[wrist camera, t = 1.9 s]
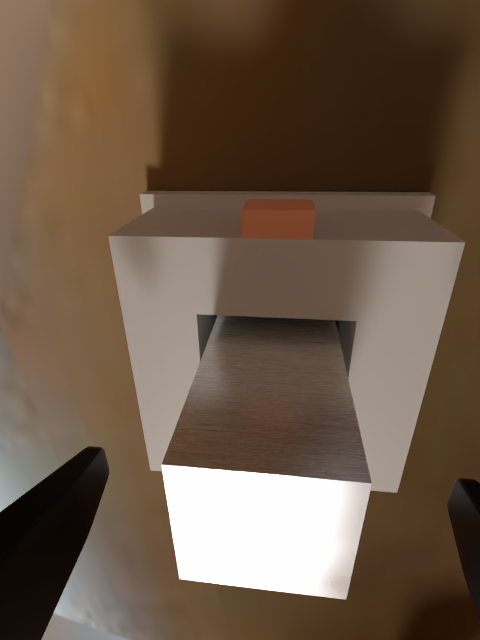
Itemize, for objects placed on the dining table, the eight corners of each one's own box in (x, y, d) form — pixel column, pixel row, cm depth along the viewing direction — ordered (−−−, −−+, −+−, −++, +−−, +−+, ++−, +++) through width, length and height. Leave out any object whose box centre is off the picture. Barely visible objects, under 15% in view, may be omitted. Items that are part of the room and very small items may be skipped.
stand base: (430, 183, 14) (494, 212, 10) (380, 415, 19) (407, 502, 15) (145, 182, 15) (86, 207, 11) (172, 401, 20) (140, 477, 16)
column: (331, 282, 15) (381, 478, 7) (321, 369, 17) (351, 603, 9) (226, 278, 16) (153, 458, 7) (229, 364, 18) (174, 581, 9)
